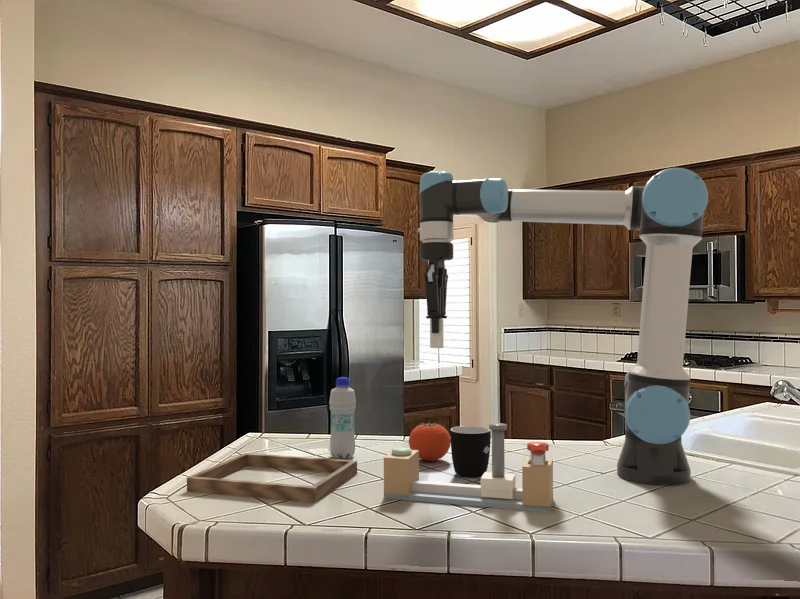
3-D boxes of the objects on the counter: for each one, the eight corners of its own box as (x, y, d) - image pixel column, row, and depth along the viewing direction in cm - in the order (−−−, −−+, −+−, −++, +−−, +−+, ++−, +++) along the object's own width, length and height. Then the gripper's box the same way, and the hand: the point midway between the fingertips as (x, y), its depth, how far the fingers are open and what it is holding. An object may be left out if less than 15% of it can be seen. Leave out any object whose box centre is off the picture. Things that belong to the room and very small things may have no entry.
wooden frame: (357, 473, 150) (357, 460, 150) (314, 502, 128) (314, 488, 128) (245, 464, 158) (245, 453, 158) (186, 491, 136) (186, 477, 136)
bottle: (361, 455, 167) (361, 376, 168) (345, 461, 162) (345, 378, 162) (340, 452, 171) (340, 375, 171) (323, 457, 165) (323, 377, 165)
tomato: (459, 461, 161) (459, 420, 161) (425, 467, 155) (425, 425, 155) (433, 454, 169) (433, 414, 169) (400, 459, 163) (400, 418, 163)
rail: (553, 499, 129) (552, 454, 129) (550, 512, 121) (549, 464, 121) (395, 487, 138) (395, 445, 138) (383, 498, 131) (383, 453, 131)
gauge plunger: (549, 489, 127) (549, 442, 127) (548, 495, 123) (547, 446, 124) (528, 487, 128) (528, 441, 129) (526, 493, 125) (526, 445, 125)
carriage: (515, 492, 130) (515, 423, 130) (512, 499, 125) (512, 427, 125) (485, 490, 131) (484, 421, 131) (480, 497, 127) (480, 426, 127)
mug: (488, 481, 143) (487, 434, 143) (447, 478, 145) (446, 432, 145) (494, 468, 154) (494, 424, 155) (456, 465, 157) (456, 422, 157)
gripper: (427, 245, 156) (427, 345, 156) (412, 240, 143) (412, 349, 143) (458, 244, 154) (459, 346, 153) (446, 239, 141) (446, 350, 141)
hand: (436, 347), depth 148 cm, fingers closed
